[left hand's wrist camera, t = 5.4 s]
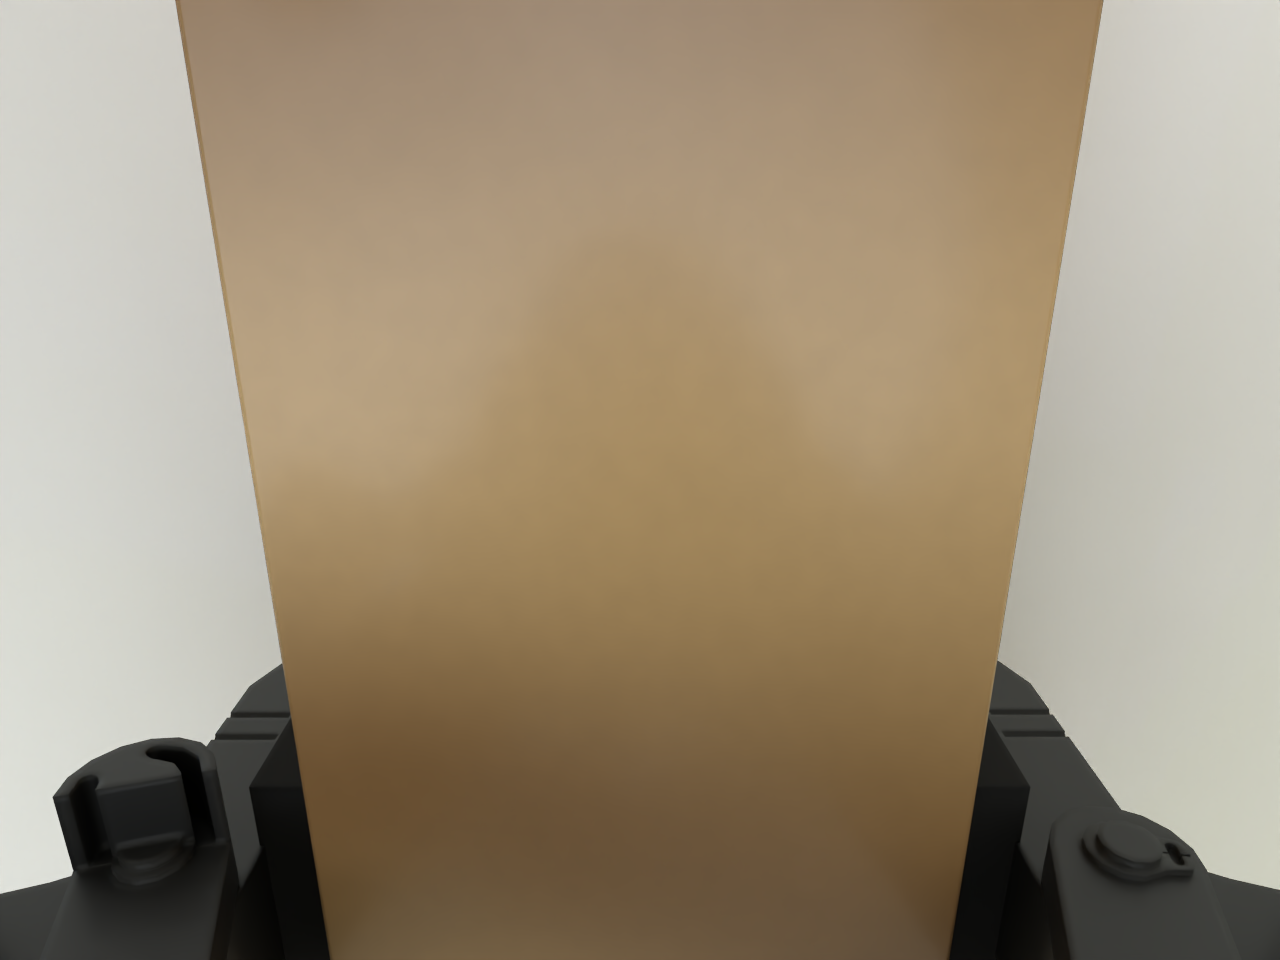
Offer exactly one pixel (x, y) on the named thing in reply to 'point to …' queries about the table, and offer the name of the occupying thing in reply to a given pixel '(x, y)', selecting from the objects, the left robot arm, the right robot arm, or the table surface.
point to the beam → (639, 447)
